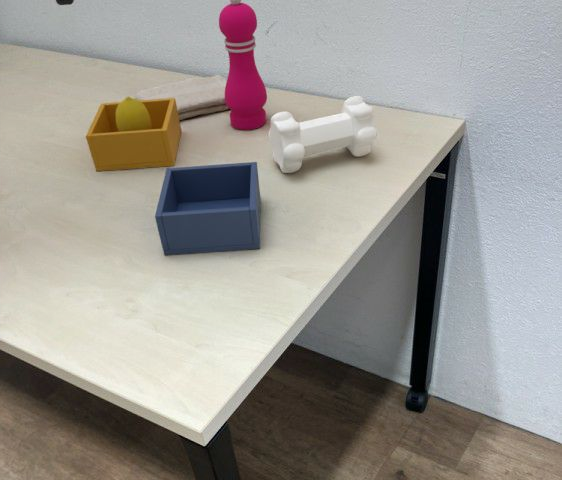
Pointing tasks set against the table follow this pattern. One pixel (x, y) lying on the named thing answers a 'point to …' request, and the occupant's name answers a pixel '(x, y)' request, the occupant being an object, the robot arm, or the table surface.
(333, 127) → the white bone
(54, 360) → the table surface
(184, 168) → the blue bin
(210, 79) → the washcloth
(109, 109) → the ochre bin
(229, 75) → the pepper mill
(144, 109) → the lemon
